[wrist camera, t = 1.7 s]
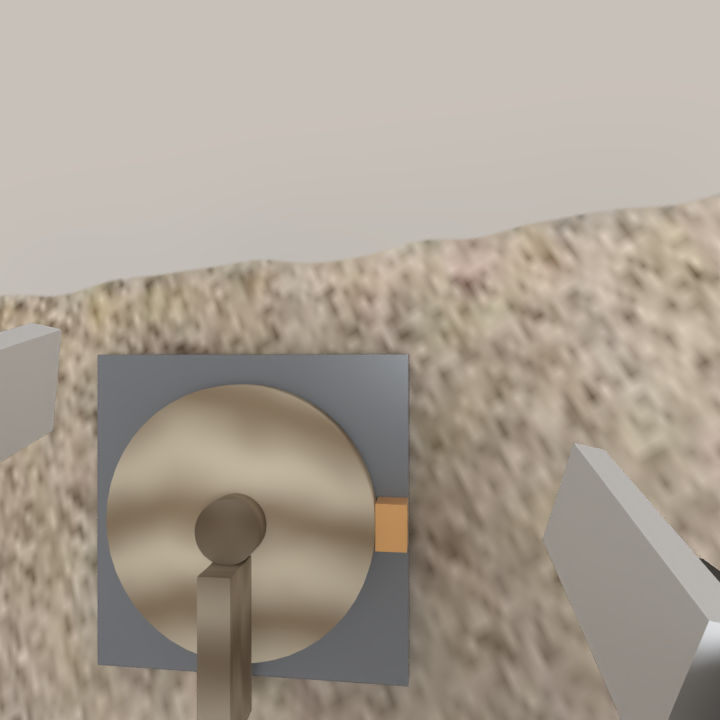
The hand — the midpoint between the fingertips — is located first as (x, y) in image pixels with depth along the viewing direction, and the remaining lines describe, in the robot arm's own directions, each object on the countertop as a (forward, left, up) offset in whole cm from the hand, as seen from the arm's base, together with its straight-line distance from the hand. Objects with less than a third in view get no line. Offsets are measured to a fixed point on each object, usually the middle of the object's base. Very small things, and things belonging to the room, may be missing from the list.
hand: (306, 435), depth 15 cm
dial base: (-9, +10, -26) cm, 29 cm away
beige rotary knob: (-10, +10, -24) cm, 28 cm away
